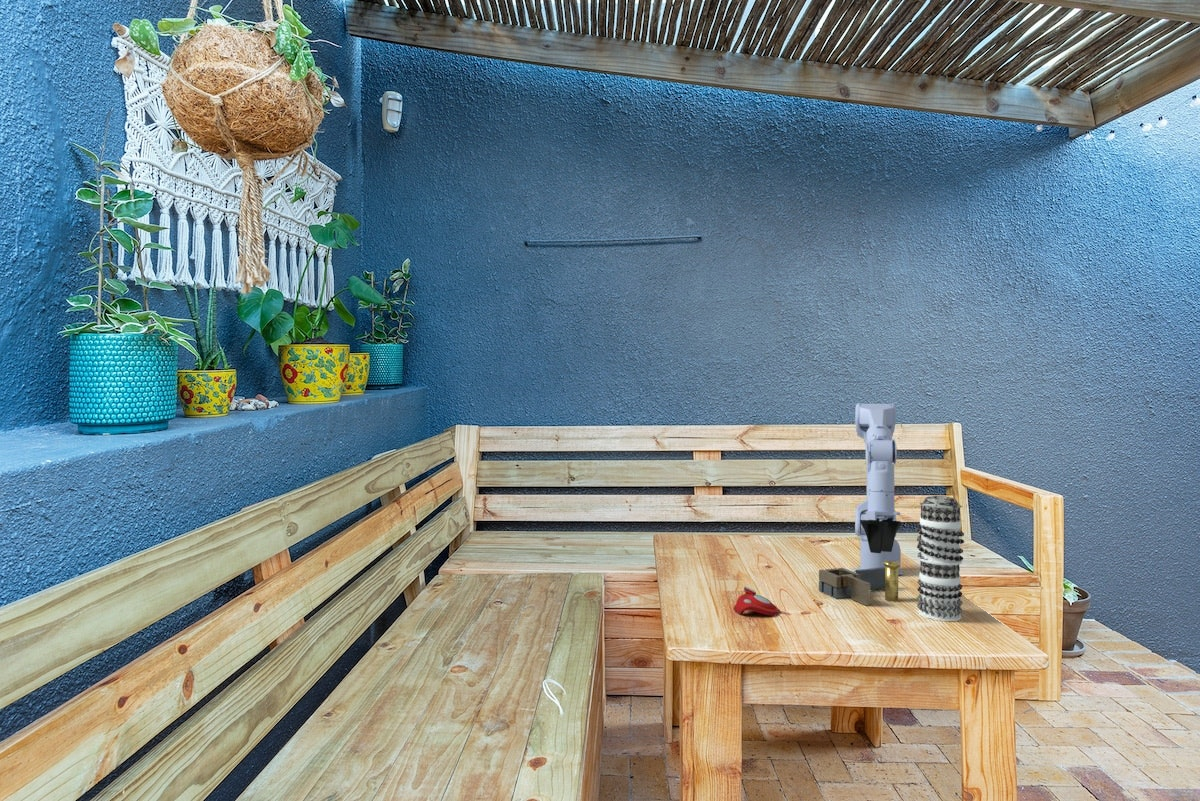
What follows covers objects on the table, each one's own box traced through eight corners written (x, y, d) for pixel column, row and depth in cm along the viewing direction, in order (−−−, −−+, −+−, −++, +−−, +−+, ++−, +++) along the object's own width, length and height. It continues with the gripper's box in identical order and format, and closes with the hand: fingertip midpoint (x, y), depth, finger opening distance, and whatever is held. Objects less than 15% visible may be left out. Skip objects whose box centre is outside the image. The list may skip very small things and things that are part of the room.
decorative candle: (905, 611, 155) (906, 495, 154) (937, 606, 158) (938, 493, 158) (941, 624, 146) (942, 502, 146) (973, 618, 150) (974, 499, 149)
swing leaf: (818, 590, 170) (818, 570, 170) (842, 587, 172) (842, 567, 172) (855, 606, 158) (855, 585, 157) (880, 603, 160) (880, 582, 160)
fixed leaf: (836, 599, 164) (836, 577, 164) (818, 591, 170) (818, 570, 170) (894, 592, 169) (895, 571, 169) (875, 584, 175) (875, 564, 175)
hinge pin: (892, 597, 165) (892, 559, 165) (903, 601, 162) (904, 563, 162) (879, 598, 164) (879, 561, 164) (890, 603, 161) (890, 564, 161)
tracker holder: (789, 608, 154) (756, 605, 149) (782, 627, 154) (749, 625, 149) (752, 582, 164) (720, 578, 159) (745, 600, 165) (713, 597, 160)
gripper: (889, 491, 157) (889, 555, 155) (908, 493, 168) (908, 552, 167) (856, 490, 161) (856, 552, 160) (877, 492, 173) (877, 549, 171)
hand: (881, 552), depth 163 cm, fingers open, 7 cm apart
